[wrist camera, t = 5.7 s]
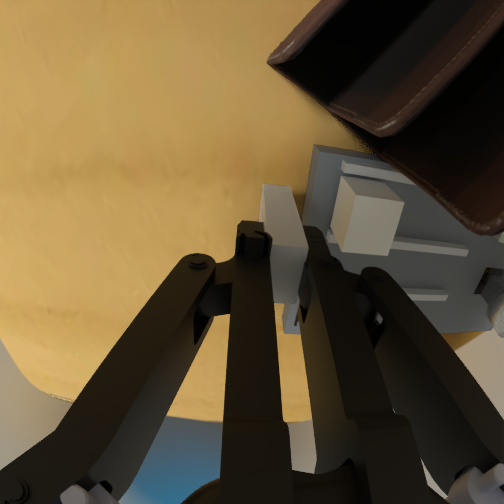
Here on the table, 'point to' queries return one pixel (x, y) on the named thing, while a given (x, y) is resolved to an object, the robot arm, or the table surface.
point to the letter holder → (414, 91)
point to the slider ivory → (365, 216)
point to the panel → (408, 244)
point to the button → (495, 302)
